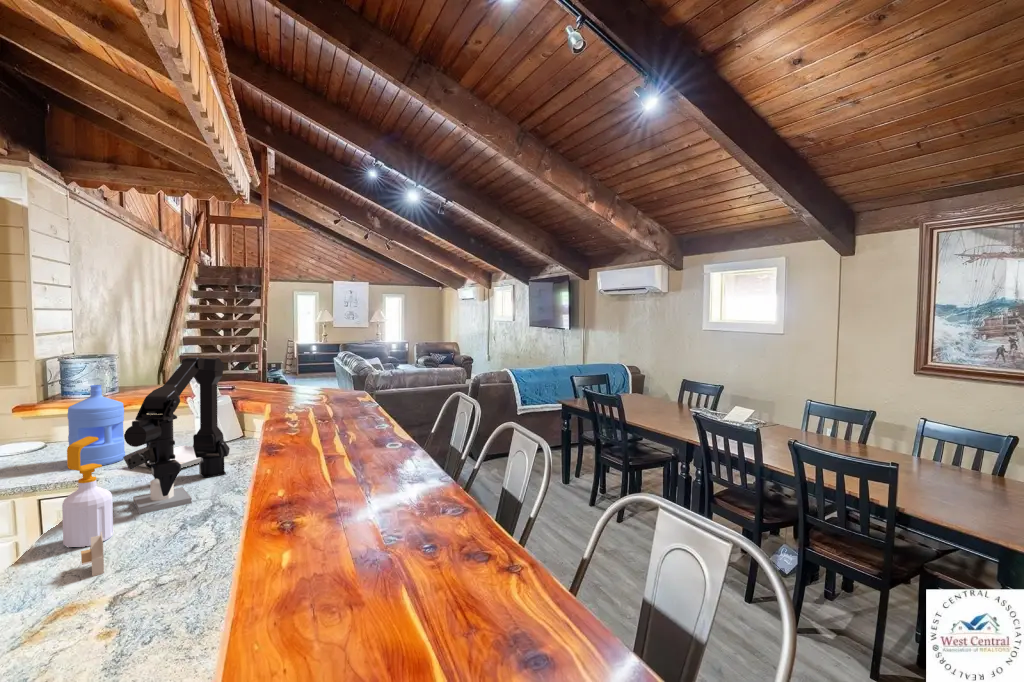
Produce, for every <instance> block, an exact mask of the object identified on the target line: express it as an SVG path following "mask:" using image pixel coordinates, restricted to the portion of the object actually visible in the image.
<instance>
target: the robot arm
mask: <svg viewBox="0 0 1024 682" xmlns="http://www.w3.org/2000/svg"><path fill="white" fill-rule="evenodd" d="M224 363H225V362H224V361H222V360H221V358H219V357H201V356H200V357H199V356H198V357H197V356H192V357H191V356H188V357H184V358H183V359H182V361H181V364H180V365H179V366H178V367H177V369H176V370H175V371H174V372H173V373H172V375H171V376H170V377H169V378H168V379H167V381H166V382H165V383H164V384H163V385H162V386H160V387H158V388H155V389H153V390H152V391H151V392H150V393H149V394H147V395H146V396H145V398H144V399H143V401H142V404H141V405H140V408H139V410H138V411H137V414H136V417H135V420H132V422H131V426H129V427H128V428H126V430H125V433H124V435H123V436H124V442H125V443H126V444H127V445H128V446H131V447H134V448H137V447H140V446H144V445H146V446H145V447H143V448H140V449H137V450H134V451H133V452H131V453H130V452H129V453H128V454H125V456H124V457H123V458H124V459H123V460H124V462H125V464H126V465H127V468H128V469H129V470H134V469H136V468H137V467H140V466H139V465H141V464H143V463H145V465H146V466H147V467H148V469H150V470H151V475H152V477H153V480H154V479H159V483H160V487H161V491H162V495H163V496H167V495H168V493H169V491H170V489H171V487H172V485H173V483H174V484H175V481H176V479H177V477H178V476H179V474H180V472H182V469H181V464H180V463H179V462H178V461H176V460H175V455H174V448H175V446H174V445H176V440H175V439H174V420H177V419H178V416H177V415H176V414H174V413H175V411H176V410H177V409H178V407H179V405H180V403H181V397H180V396H181V395H182V393H183V392H184V391H185V389H186V387H187V386H188V385H189V384H190V383H191V381H192V379H195V380H196V381H197V383H198V384H199V415H200V416H199V417H200V418H199V426H200V427H199V429H198V431H197V432H196V433H195V434H193V436H192V441H193V444H192V446H193V448H194V452H195V456H196V458H201V461H200V462H199V464H198V469H199V470H198V471H199V474H200V476H202V477H203V479H207V478H211V477H217V476H222V475H227V472H226V471H225V458H226V457H228V456H229V454H230V450H231V448H230V446H229V445H228V444H227V443H226V442H225V440H224V433H223V431H222V430H221V429H220V428H219V426H218V383H219V381H220V380H221V379H222V378H223V373H224V368H225V364H224ZM170 459H174V460H170ZM147 467H146V468H147Z"/></svg>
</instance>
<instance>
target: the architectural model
mask: <svg viewBox="0 0 1024 682" xmlns="http://www.w3.org/2000/svg"><path fill="white" fill-rule="evenodd" d="M100 534H101V535H99V536H95V537H91V545H90V546H89V548H90V549H85V550H81V551H80V558H81V565H88V564H91V576H92V577H95V576H100V575H103V574H104V573H105V564H104V562H105V561H104V560H105V559H104V555H105V553H104V542H103V536H102V532H100Z"/></svg>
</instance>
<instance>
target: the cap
mask: <svg viewBox="0 0 1024 682" xmlns="http://www.w3.org/2000/svg"><path fill="white" fill-rule="evenodd" d="M174 485H175V482H174V483H173V485H172V487H171V489H170V491H169V493H168V495H167V496H163V495H162V491H161V487H160V483H159V479H154V478H153V479H152V480H150V482H149V486H150V489H149V490H150V492H149V494H151V500H155V501H160V500H165V499H169V498H171V497H173V496H174V489H175V486H174Z"/></svg>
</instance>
